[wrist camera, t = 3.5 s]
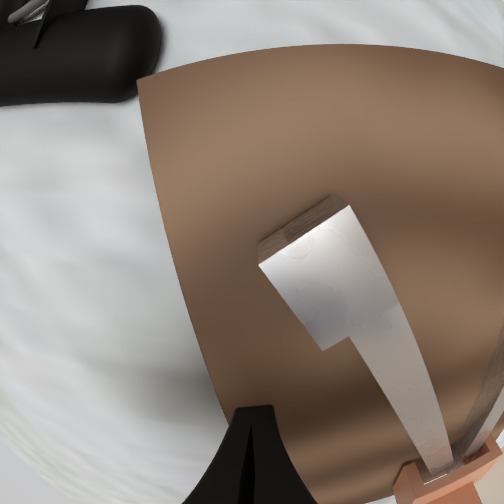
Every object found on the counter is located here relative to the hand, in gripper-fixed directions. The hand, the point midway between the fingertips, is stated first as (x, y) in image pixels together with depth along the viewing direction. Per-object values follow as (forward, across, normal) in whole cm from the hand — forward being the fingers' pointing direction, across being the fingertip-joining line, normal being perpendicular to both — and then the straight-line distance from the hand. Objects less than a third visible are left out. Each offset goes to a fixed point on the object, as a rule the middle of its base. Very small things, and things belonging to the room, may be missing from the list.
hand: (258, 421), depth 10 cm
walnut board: (+2, -9, +2) cm, 9 cm away
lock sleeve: (0, -11, +11) cm, 16 cm away
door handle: (+3, +2, -22) cm, 22 cm away
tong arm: (+1, -6, +1) cm, 6 cm away
